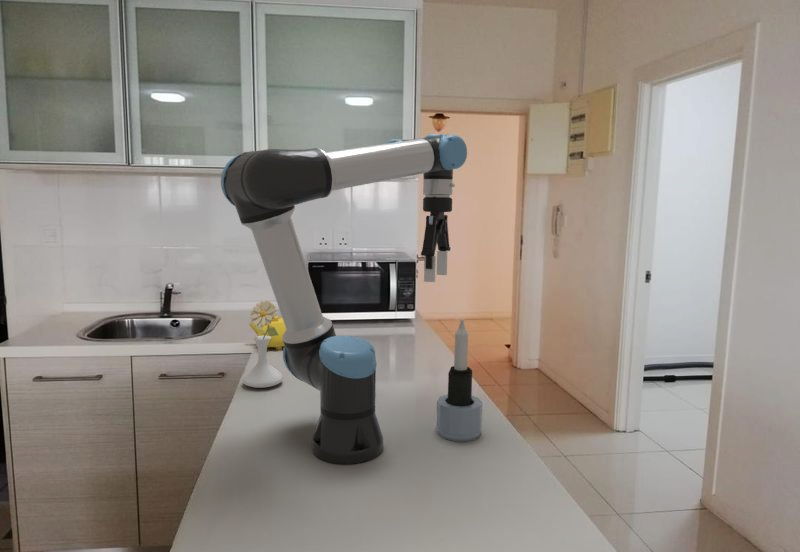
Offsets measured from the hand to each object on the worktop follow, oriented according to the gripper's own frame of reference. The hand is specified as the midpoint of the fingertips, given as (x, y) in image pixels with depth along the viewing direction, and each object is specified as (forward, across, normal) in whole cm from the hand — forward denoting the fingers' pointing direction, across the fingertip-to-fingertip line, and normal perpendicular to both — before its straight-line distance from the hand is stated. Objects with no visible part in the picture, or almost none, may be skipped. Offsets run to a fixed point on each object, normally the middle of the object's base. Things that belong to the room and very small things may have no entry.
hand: (435, 278), depth 147 cm
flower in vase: (+33, -6, +48) cm, 59 cm away
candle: (+31, -20, -11) cm, 39 cm away
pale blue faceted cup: (+33, -20, -11) cm, 40 cm away
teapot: (+33, +32, +66) cm, 80 cm away
